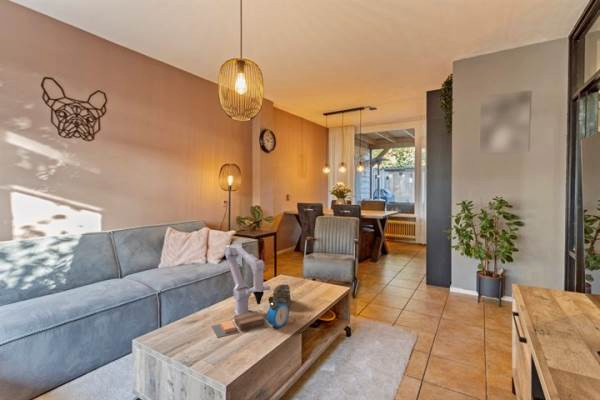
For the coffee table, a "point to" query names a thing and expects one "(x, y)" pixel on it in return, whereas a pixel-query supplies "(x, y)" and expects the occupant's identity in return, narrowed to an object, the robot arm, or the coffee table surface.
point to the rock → (281, 294)
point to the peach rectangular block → (228, 326)
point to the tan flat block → (249, 320)
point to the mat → (220, 332)
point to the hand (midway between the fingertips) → (258, 303)
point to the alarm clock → (278, 313)
